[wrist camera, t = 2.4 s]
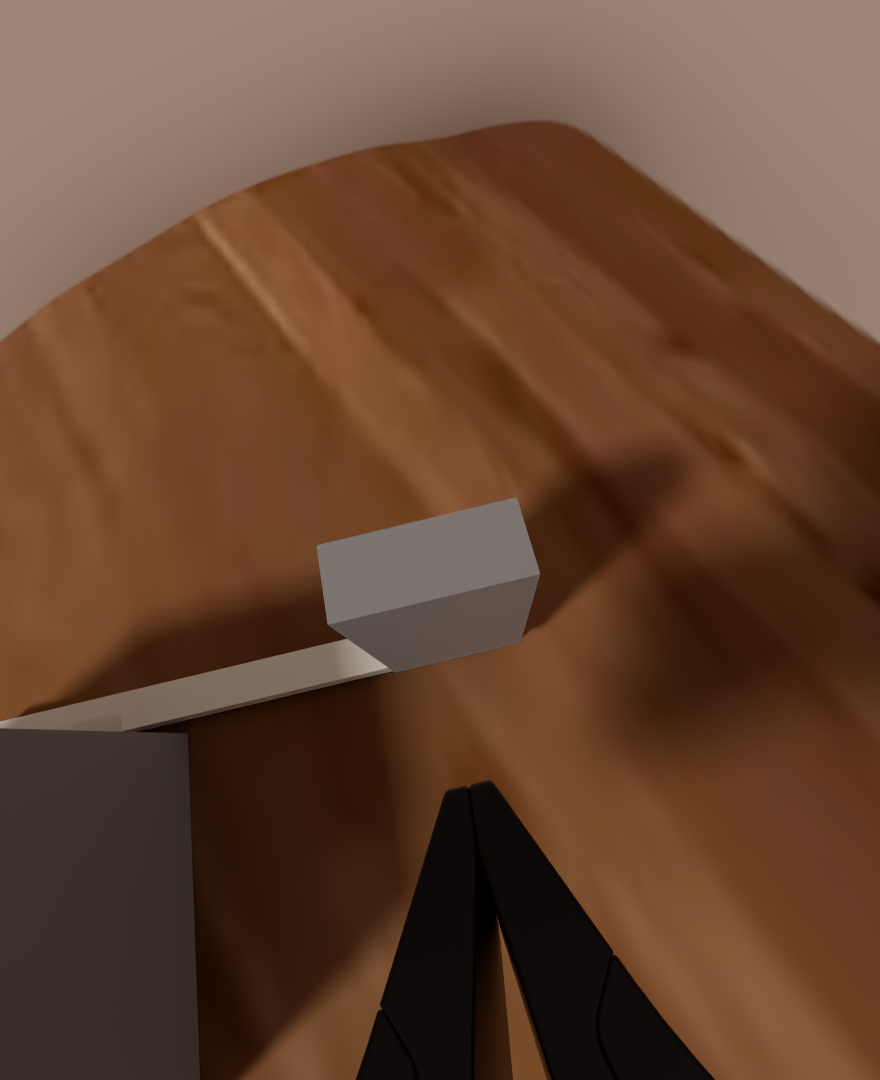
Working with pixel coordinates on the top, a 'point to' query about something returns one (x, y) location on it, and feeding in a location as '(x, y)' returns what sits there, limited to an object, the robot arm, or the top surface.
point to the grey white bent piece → (360, 620)
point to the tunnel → (96, 907)
